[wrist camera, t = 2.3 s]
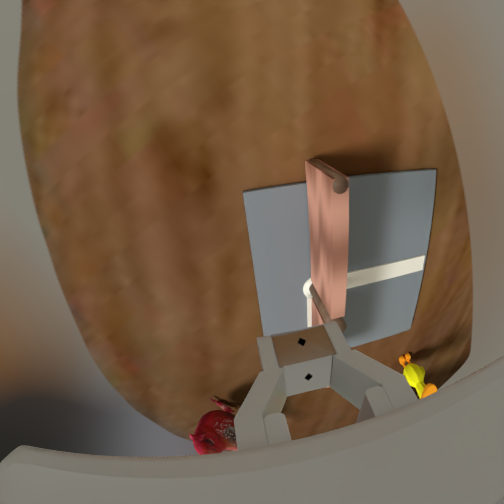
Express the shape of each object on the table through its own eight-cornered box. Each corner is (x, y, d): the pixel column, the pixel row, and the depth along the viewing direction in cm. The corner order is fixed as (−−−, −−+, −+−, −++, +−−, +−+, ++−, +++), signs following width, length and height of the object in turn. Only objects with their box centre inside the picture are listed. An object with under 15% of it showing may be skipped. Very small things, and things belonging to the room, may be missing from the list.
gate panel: (322, 278, 30) (344, 316, 25) (311, 280, 30) (331, 319, 25) (318, 157, 24) (348, 175, 19) (304, 159, 24) (332, 177, 19)
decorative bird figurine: (196, 378, 36) (198, 447, 28) (274, 422, 44) (286, 475, 35) (180, 387, 37) (180, 453, 28) (260, 429, 45) (270, 480, 36)
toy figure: (393, 350, 40) (431, 412, 29) (414, 339, 39) (454, 398, 29) (394, 373, 43) (426, 430, 32) (413, 363, 43) (446, 418, 32)
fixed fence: (307, 279, 31) (329, 324, 25) (321, 276, 31) (347, 319, 25) (308, 345, 36) (325, 389, 30) (320, 342, 36) (339, 385, 30)
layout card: (242, 191, 26) (243, 193, 25) (433, 168, 27) (437, 170, 26) (267, 364, 36) (268, 368, 36) (408, 326, 38) (410, 330, 37)
